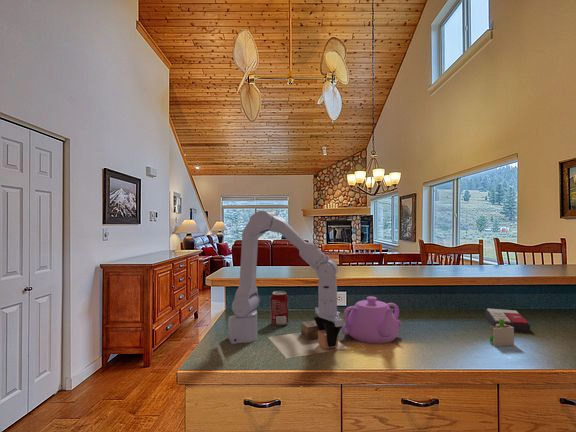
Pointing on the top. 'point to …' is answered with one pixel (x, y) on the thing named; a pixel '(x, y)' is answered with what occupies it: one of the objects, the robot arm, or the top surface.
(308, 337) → the walnut block
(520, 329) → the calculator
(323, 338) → the terracotta block
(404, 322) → the top surface
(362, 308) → the teapot
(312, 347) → the beige flat square
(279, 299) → the soda can
